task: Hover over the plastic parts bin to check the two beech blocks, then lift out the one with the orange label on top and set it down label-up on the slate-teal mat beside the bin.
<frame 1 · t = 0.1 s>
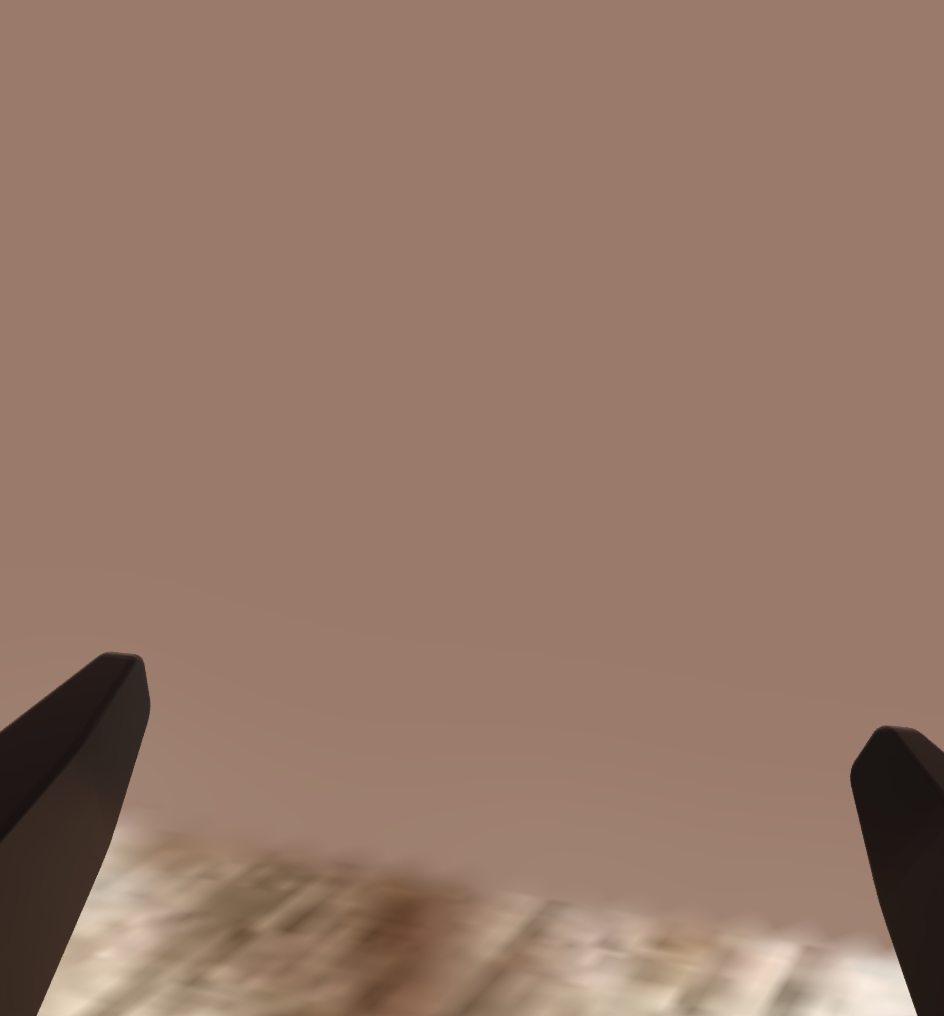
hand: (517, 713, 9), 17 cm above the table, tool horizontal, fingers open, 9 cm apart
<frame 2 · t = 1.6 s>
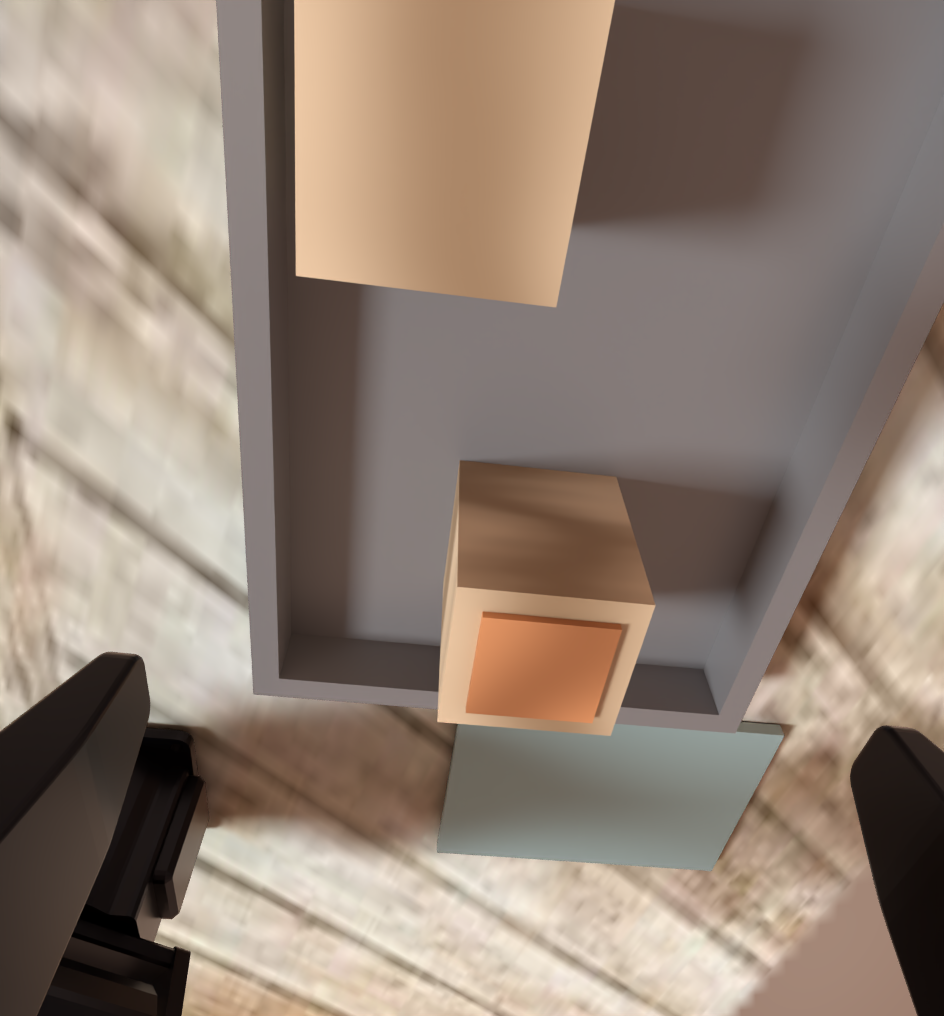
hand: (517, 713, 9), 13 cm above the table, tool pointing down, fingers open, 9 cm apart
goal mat: (596, 787, 30), on the table
plain block: (448, 106, 16), resting on parts bin
parts bin: (554, 371, 20), on the table
labelled block: (525, 532, 23), resting on parts bin
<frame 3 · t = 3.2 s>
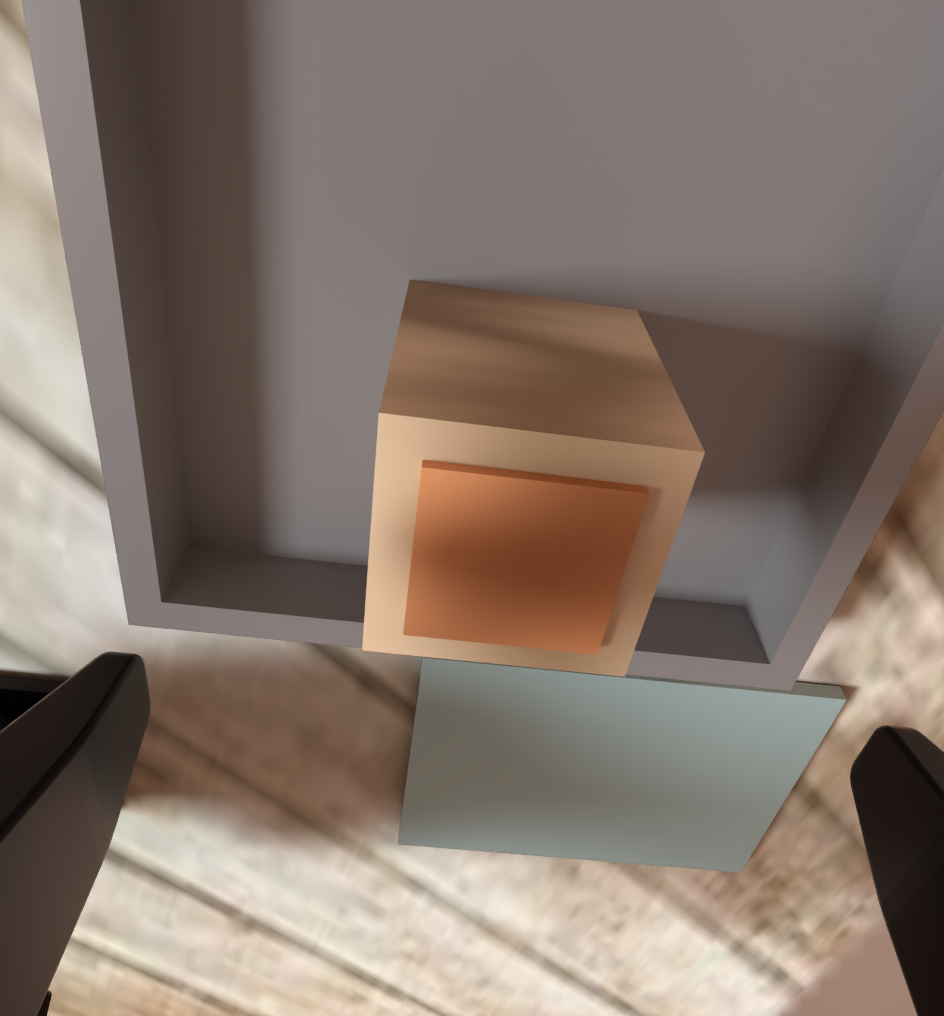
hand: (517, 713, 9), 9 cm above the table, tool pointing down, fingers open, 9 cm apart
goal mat: (599, 764, 24), on the table
parts bin: (549, 137, 14), on the table
labelled block: (506, 398, 16), resting on parts bin
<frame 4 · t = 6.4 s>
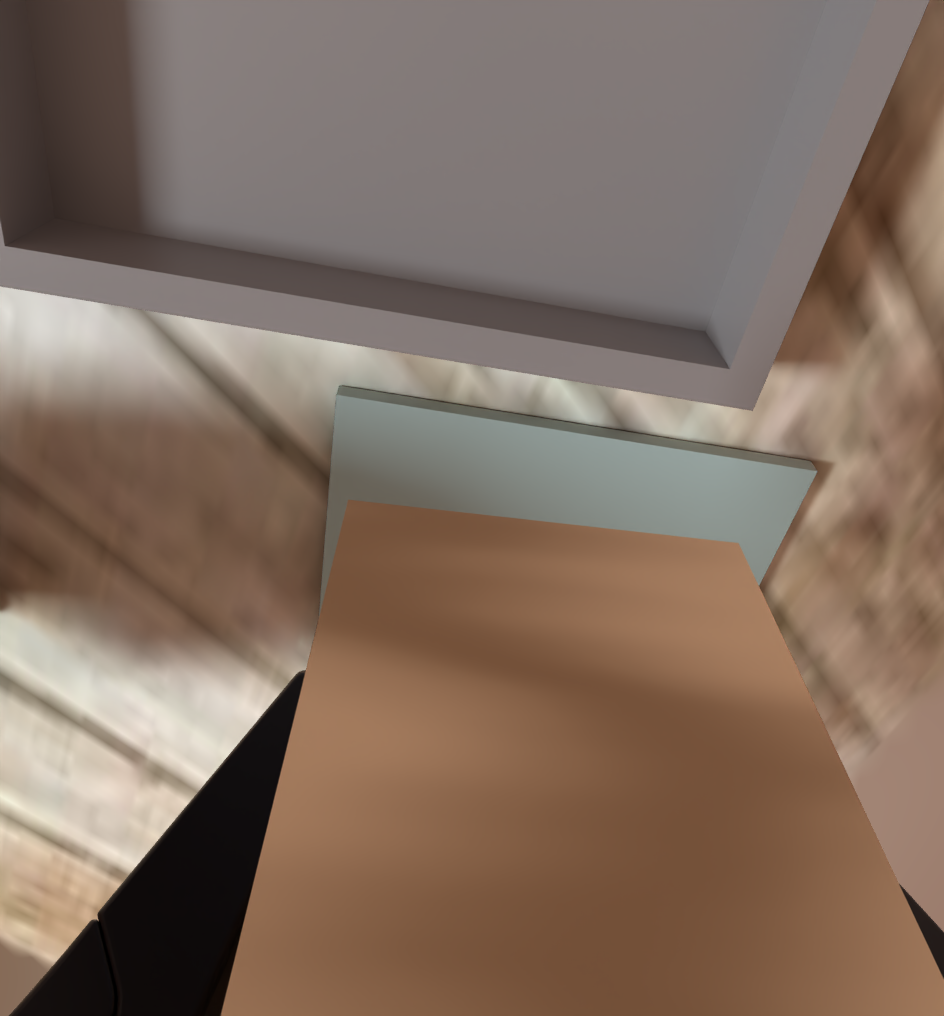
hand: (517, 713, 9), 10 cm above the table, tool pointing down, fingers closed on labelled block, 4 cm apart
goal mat: (541, 563, 21), on the table
labelled block: (514, 660, 10), point 10 cm above the table, touching gripper
when the fingers open (3 cm above the table, at t = 8.5 s): labelled block drops 1 cm, resting on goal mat.
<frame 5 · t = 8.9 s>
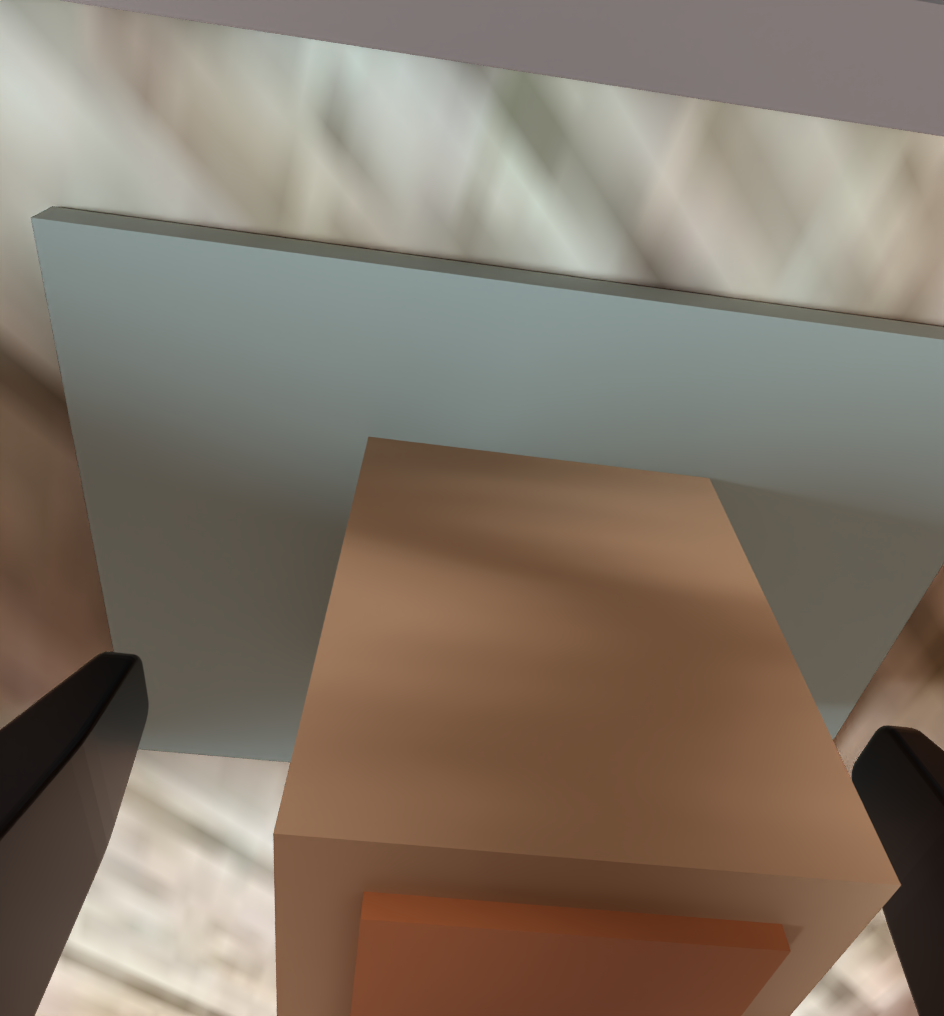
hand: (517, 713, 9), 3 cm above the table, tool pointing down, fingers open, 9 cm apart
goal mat: (511, 568, 12), on the table
labelled block: (512, 588, 11), resting on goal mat
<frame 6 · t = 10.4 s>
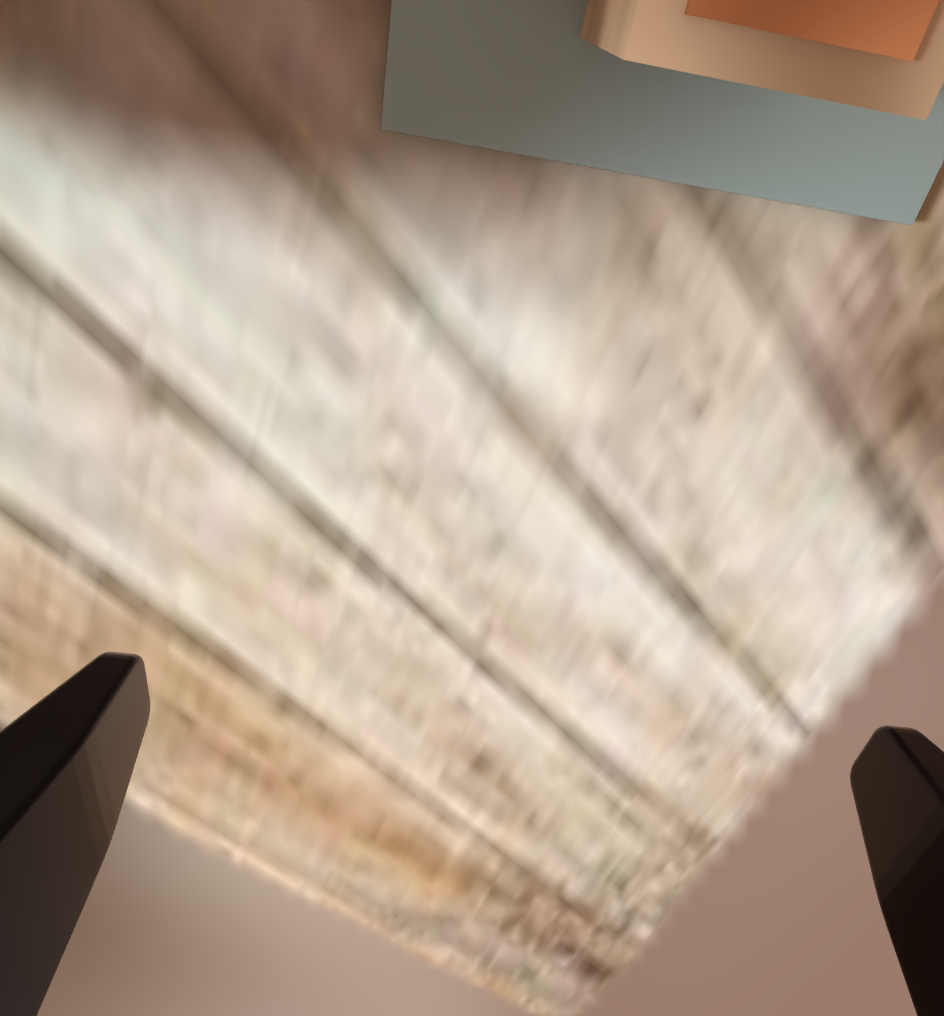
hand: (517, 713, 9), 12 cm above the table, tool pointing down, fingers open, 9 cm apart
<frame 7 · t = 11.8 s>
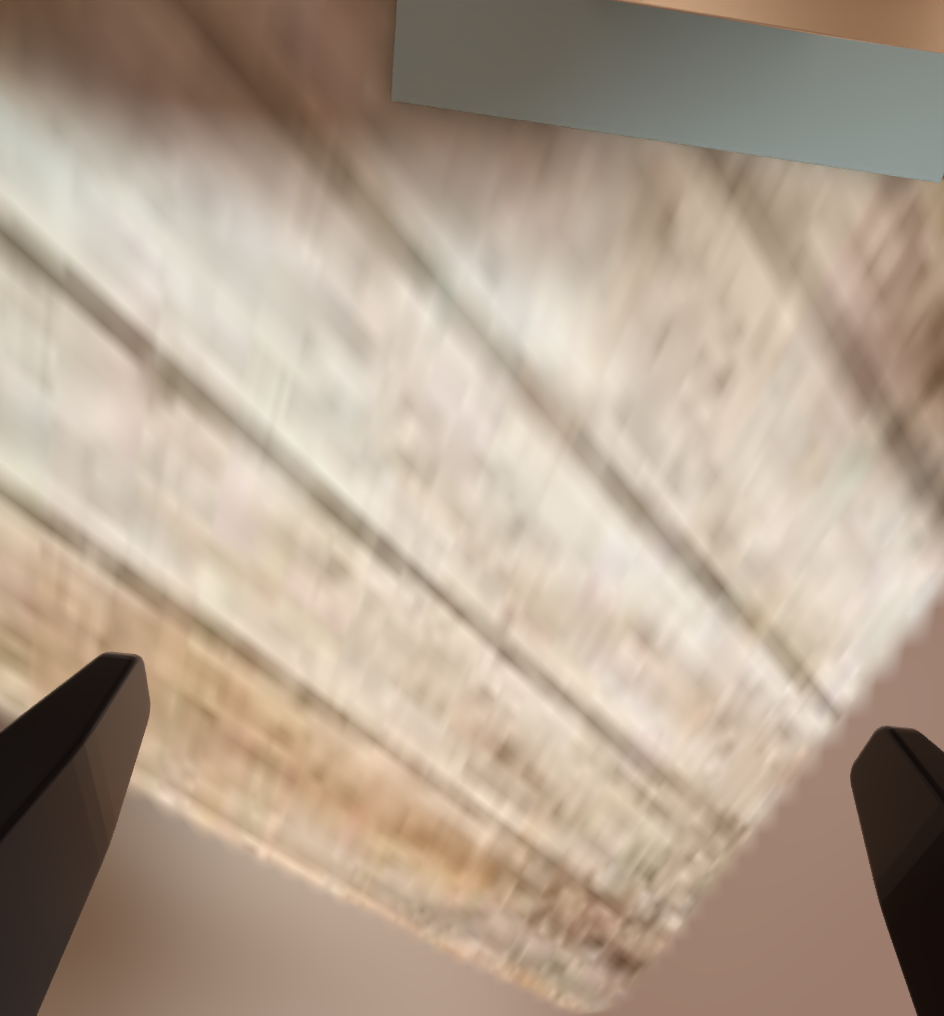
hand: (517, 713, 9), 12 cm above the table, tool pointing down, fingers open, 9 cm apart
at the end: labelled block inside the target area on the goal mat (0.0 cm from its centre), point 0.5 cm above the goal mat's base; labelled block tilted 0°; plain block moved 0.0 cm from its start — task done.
